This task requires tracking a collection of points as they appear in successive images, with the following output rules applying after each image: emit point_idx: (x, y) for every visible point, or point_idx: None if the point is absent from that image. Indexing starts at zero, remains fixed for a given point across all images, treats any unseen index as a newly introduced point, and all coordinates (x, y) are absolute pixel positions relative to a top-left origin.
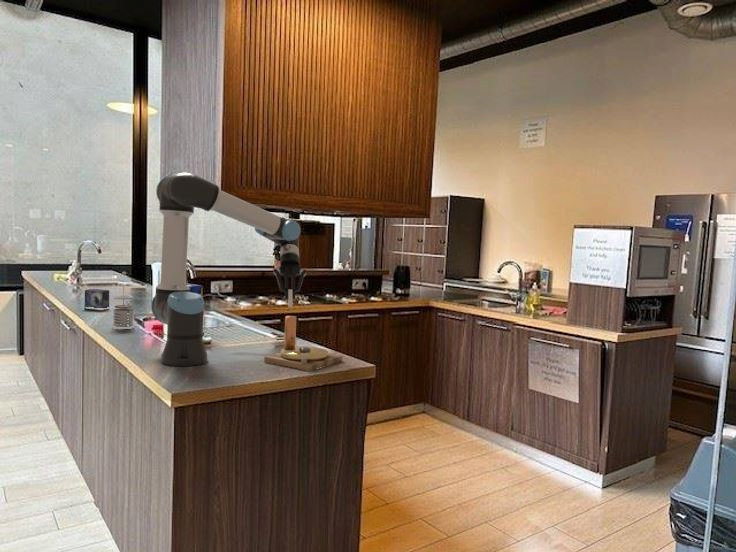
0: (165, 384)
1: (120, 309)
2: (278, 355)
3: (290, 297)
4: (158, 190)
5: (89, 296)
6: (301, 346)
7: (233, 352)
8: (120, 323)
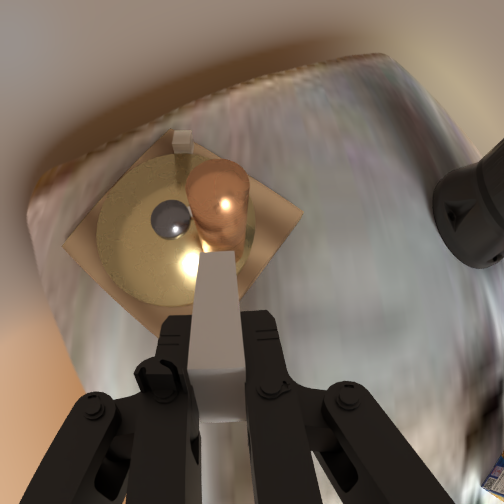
0: (419, 85)
1: None
2: (260, 230)
3: (215, 286)
4: None
5: None
6: (176, 302)
7: (405, 339)
8: None
